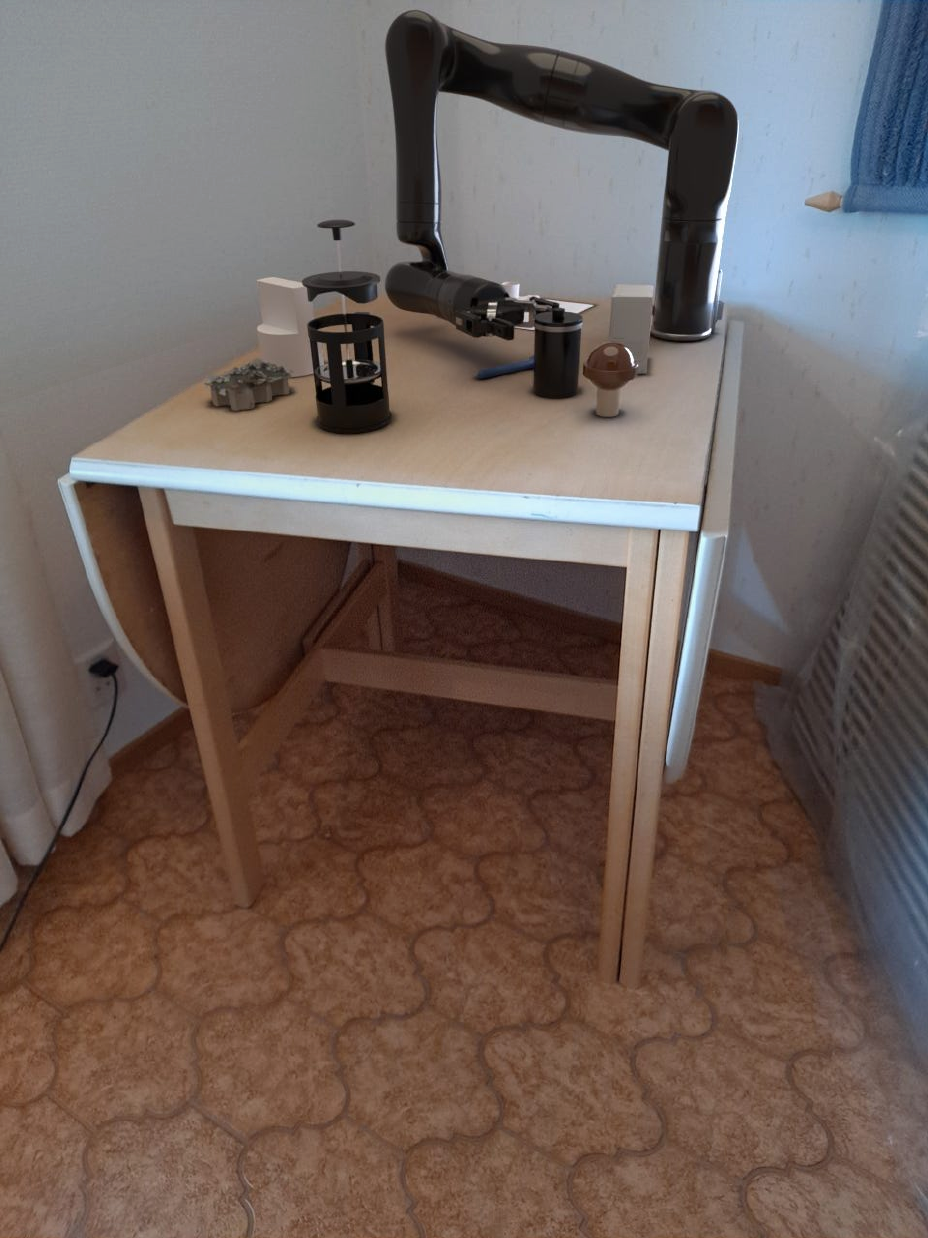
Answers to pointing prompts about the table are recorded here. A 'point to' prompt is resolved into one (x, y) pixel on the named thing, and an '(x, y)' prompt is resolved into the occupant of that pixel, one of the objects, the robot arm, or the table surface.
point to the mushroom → (609, 374)
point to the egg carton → (248, 385)
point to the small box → (632, 320)
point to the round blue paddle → (506, 368)
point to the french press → (352, 389)
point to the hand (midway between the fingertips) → (538, 327)
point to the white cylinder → (286, 325)
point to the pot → (557, 353)
